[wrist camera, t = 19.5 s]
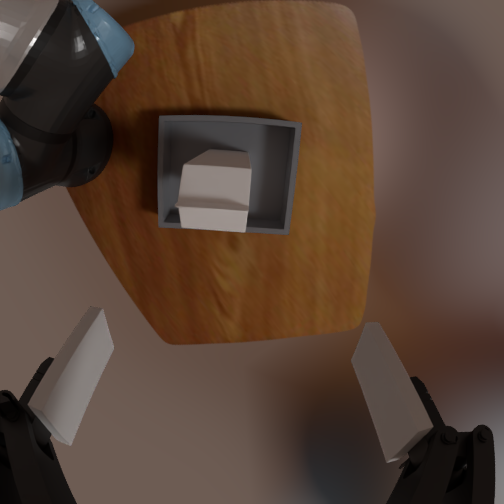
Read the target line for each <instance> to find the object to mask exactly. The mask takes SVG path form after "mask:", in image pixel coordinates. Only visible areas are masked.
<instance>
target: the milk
mask: <svg viewBox="0 0 504 504" xmlns="http://www.w3.org/2000/svg"><path fill="white" fill-rule="evenodd" d="M251 171H252V170H251V164H250V159H249V153H248V152H243V151H230V150H216V149H209V150H207V151H206V152H204V153H202V154H200V155H199V156H197V157H195V158H194V159H192V160H190V161H189V162H187V163H185V164H184V165H183V169H182V176H181V182H180V189H179V196H178V202H177V203H176V204H175V207H177V208H179V214H180V221H181V227H182V228H193V229H206V230H219V231H232V232H245V231H246V223H247V216H248V211H249V196H250V184H251Z"/></svg>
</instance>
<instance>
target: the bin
mask: <svg viewBox="0 0 504 504" xmlns="http://www.w3.org/2000/svg"><path fill="white" fill-rule="evenodd" d="M301 127H302V123H299V122H291V121H283V120H274V119H264V118H252V117H236V116H213V115H169V116H159V134H158V222H159V227H164V228H182V227H181V221H180V214H179V208H177V207H175V204H176V203H177V202H178V196H179V189H180V182H181V176H182V169H183V165H184V164H185V163H187V162H189V161H190V160H192V159H194V158H195V157H197V156H199V155H200V154H202V153H204V152H206V151H207V150H209V149H216V150H230V151H243V152H248V153H249V159H250V164H251V170H252V171H251V184H250V196H249V211H248V216H247V223H246V231H245V232H253V233H268V234H283V235H289V229H290V221H291V214H292V206H293V198H294V190H295V181H296V173H297V164H298V155H299V146H300V137H301ZM184 229H193V228H184ZM203 230H206V229H203Z"/></svg>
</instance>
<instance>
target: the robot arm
mask: <svg viewBox="0 0 504 504" xmlns="http://www.w3.org/2000/svg"><path fill="white" fill-rule="evenodd" d="M133 52H134V43H133V40H132V39H131V37H130V36H129V35H128V34H127V33H126V31H125V30H124V29H123V28H122V27H121V26H120V25H119V24H118V23H117V22H116V21H115V20H114V19H113V18H112V17H111V16H110V15H109V14H108V13H107V12H106V11H104V10H103V9H102V8H100V7H99V6H98V5H97V4H96V3H95V2H94V1H93V0H36V1H35V0H0V95H1V96H3V98H2V100H1V102H0V210H3V209H6V208H8V207H11V206H16V205H17V204H19V202H21V201H23V200H25V199H27V198H29V197H31V196H33V195H35V194H37V193H39V192H42V191H44V190H46V189H48V188H51V187H53V186H55V185H58V186H65V187H77V186H81V185H83V184H86V183H88V182H90V181H92V180H93V179H95V178H96V177H97V176H98V175H99V174H100V173H101V172H102V171H103V169H104V168H105V166H106V165H107V163H108V160H109V158H110V155H111V151H112V145H113V133H112V127H111V124H110V121H109V119H108V117H107V115H106V114H105V112H104V111H103V110H102V109H101V108H100V107H99V106H97V105H96V104H93V103H94V102H95V101H96V99H97V98H98V97H99V95H100V94H101V93H102V92H103V90H104V89H105V88H106V86H107V85H108V84H109V83H110V81H111V80H112V79H115V78H116V77H117V73H118V72H119V71H120V69H121V68H122V67H123V66H124V64H125V63H126V62H127V61H128V60H129V58H130V57H131V56H132V54H133ZM113 350H114V345H113V342H112V339H111V336H110V332H109V329H108V325H107V322H106V318H105V314H104V311H103V308H98V307H92V306H90V308H89V309H88V311H87V312H86V313H85V315H84V316H83V317H82V319H81V320H80V322H79V323H78V325H77V326H76V327H75V329H74V330H73V332H72V333H71V335H70V336H69V338H68V339H67V341H66V342H65V344H64V345H63V347H62V348H61V350H60V351H59V353H58V354H57V356H56V357H55V359H54V358H51V357H49V358H48V359H46V360H45V361H44V362H43V363H42V364H41V365H40V366H39V368H38V370H37V371H36V373H35V374H34V376H33V379H31V381H30V383H29V384H28V386H27V387H26V389H25V391H24V393H23V395H22V396H21V398H20V400H19V401H18V400H17V399H16V397H15V396H14V395H13V394H12V393H11V392H10V391H8V390H2V391H0V504H77V503H76V501H75V499H74V497H73V495H72V493H71V491H70V488H69V486H68V484H67V481H66V479H65V477H64V474H63V472H62V469H61V467H60V464H59V461H58V459H57V456H56V453H55V450H54V447H53V444H52V442H51V440H50V436H51V434H52V435H53V436H54V437H55V438H56V439H57V440H58V441H60V442H62V443H65V444H67V445H70V446H71V445H72V442H73V440H74V437H75V434H76V432H77V429H78V427H79V425H80V422H81V420H82V417H83V415H84V412H85V410H86V408H87V405H88V403H89V401H90V399H91V396H92V394H93V392H94V389H95V387H96V385H97V383H98V381H99V379H100V376H101V374H102V372H103V370H104V368H105V366H106V364H107V362H108V360H109V358H110V356H111V354H112V352H113ZM351 362H352V365H353V367H354V370H355V372H356V375H357V378H358V381H359V383H360V386H361V389H362V391H363V394H364V397H365V400H366V403H367V405H368V408H369V411H370V414H371V417H372V420H373V423H374V426H375V429H376V432H377V434H378V438H379V441H380V444H381V447H382V450H383V453H384V456H385V459H386V462H391V461H394V460H398V459H401V458H402V457H403V456H404V455H406V454H407V453H408V455H409V458H408V459H407V460H406V461H405V462H404V463H403V464H401V466H400V467H399V469H401V468H402V467H404V468H403V471H402V473H401V475H400V477H399V479H398V482H397V483H396V486H395V488H394V490H393V492H392V494H391V495H390V497H389V499H388V501H387V503H386V504H494V498H495V453H494V440H493V434H492V431H491V430H490V428H488V427H487V426H485V425H478V426H477V427H476V428H474V430H473V431H472V432H457V431H456V429H454V428H453V427H451V426H445V424H444V422H443V420H442V418H441V416H440V414H439V412H438V410H437V408H436V406H435V404H434V402H433V400H431V399H432V398H431V396H430V394H428V391H427V389H426V387H425V385H424V383H422V381H421V380H419V379H418V378H417V377H410V378H409V376H408V374H407V372H406V370H405V368H404V367H403V365H402V363H401V361H400V359H399V357H398V355H397V354H396V352H395V350H394V348H393V346H392V344H391V343H390V341H389V339H388V337H387V336H386V334H385V332H384V331H383V329H382V327H381V325H380V324H379V322H371V323H366V324H365V326H364V329H363V332H362V334H361V337H360V340H359V342H358V345H357V347H356V350H355V352H354V355H353V357H352V360H351ZM466 465H467V468H466Z"/></svg>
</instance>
